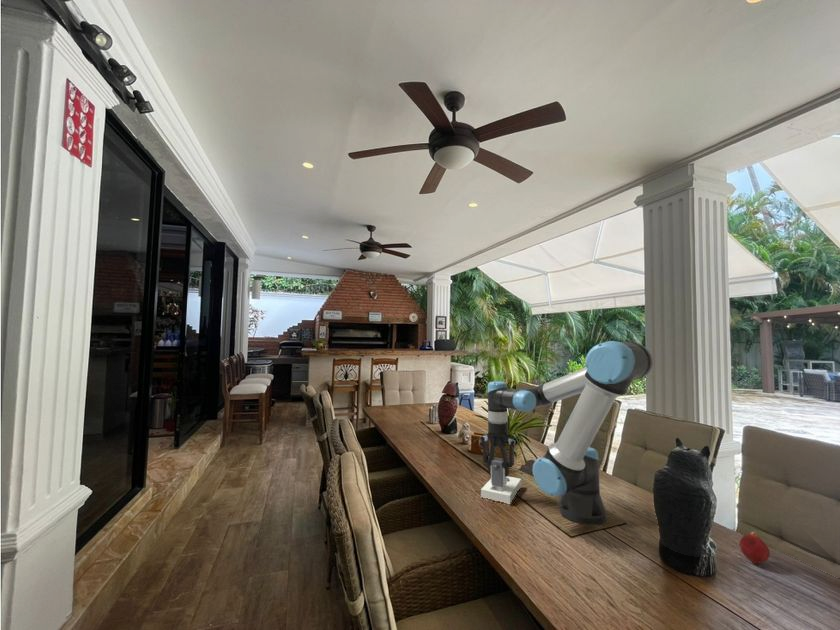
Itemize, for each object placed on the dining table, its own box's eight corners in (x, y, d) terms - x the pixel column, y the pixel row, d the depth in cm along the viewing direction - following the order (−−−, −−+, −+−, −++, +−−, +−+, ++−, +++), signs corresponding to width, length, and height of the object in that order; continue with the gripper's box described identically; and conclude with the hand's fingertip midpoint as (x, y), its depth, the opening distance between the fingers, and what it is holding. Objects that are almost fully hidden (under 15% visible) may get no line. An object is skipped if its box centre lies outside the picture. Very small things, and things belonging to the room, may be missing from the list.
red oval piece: (761, 572, 90) (758, 539, 90) (735, 558, 95) (733, 528, 96) (776, 567, 91) (773, 536, 92) (750, 555, 97) (747, 525, 97)
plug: (505, 482, 135) (505, 459, 136) (500, 488, 129) (500, 464, 130) (495, 480, 137) (495, 457, 138) (490, 486, 131) (490, 462, 132)
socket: (521, 487, 142) (521, 476, 142) (509, 505, 126) (509, 493, 127) (495, 482, 147) (494, 472, 148) (481, 499, 132) (480, 487, 132)
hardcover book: (546, 487, 144) (546, 481, 144) (508, 469, 164) (507, 464, 164) (572, 480, 151) (572, 474, 151) (532, 464, 171) (532, 459, 172)
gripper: (521, 422, 135) (523, 484, 133) (480, 417, 143) (480, 475, 141) (517, 426, 128) (518, 491, 126) (473, 421, 137) (474, 482, 135)
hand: (498, 483), depth 134 cm, fingers closed on plug, 4 cm apart
